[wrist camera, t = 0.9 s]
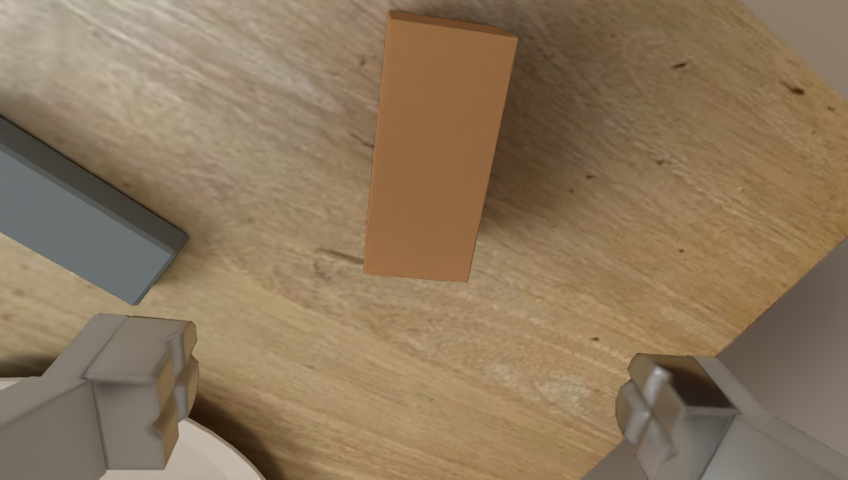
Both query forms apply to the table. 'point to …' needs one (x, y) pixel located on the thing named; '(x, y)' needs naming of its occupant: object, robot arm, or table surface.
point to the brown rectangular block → (434, 144)
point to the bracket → (80, 219)
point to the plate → (189, 456)
